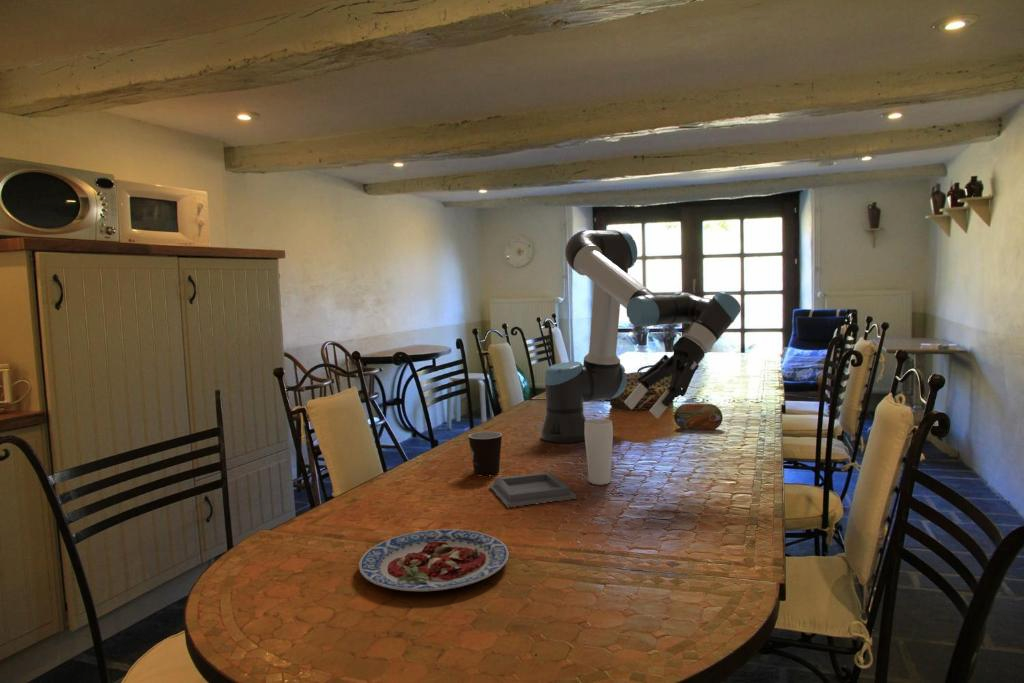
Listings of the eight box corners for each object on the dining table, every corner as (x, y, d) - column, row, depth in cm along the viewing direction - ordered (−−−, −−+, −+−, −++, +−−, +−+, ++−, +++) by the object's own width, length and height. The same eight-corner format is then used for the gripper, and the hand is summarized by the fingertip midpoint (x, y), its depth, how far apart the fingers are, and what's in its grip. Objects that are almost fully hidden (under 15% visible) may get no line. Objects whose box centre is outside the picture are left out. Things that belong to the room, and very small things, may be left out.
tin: (674, 429, 218) (673, 403, 218) (674, 427, 221) (674, 402, 221) (722, 430, 214) (722, 404, 213) (722, 428, 217) (722, 403, 216)
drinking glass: (613, 478, 166) (611, 418, 165) (614, 486, 159) (613, 424, 158) (585, 478, 167) (584, 418, 165) (585, 486, 160) (584, 424, 159)
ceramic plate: (436, 530, 135) (436, 516, 135) (538, 560, 119) (538, 544, 118) (328, 576, 115) (327, 559, 115) (433, 619, 99) (432, 600, 99)
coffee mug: (499, 478, 169) (497, 439, 169) (466, 477, 171) (464, 438, 170) (508, 465, 181) (507, 429, 180) (477, 465, 182) (476, 428, 182)
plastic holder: (489, 487, 162) (489, 477, 161) (552, 480, 166) (552, 470, 166) (507, 508, 146) (507, 497, 146) (576, 499, 151) (575, 488, 150)
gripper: (732, 359, 156) (676, 429, 153) (677, 351, 180) (627, 411, 177) (712, 338, 154) (654, 408, 151) (659, 332, 178) (608, 393, 175)
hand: (640, 410), depth 164 cm, fingers open, 13 cm apart
